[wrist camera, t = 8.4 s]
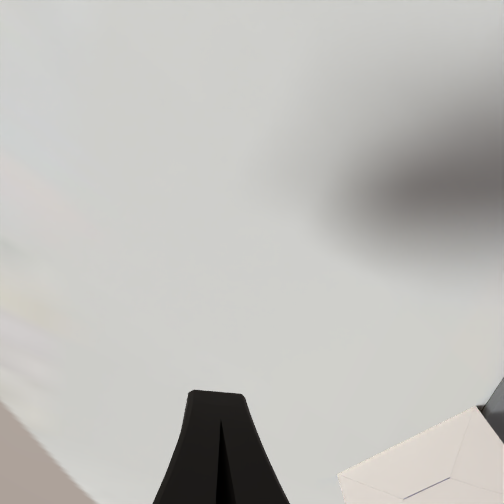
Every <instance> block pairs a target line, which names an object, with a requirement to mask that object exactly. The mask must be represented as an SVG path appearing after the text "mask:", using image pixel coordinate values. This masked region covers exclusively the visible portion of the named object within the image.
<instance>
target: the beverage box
mask: <svg viewBox="0 0 504 504" xmlns="http://www.w3.org/2000/svg"><path fill="white" fill-rule="evenodd" d="M337 477H338V480H339V484H340V487H341V491H342V494H343V497H344V501H345V504H504V444H503V442H502V441H501V440H500V438H499V437H498V435H497V434H496V433H495V431H494V430H493V429H492V427H491V426H490V425H489V423H488V422H487V420H486V419H485V418H484V416H483V415H482V414H481V412H480V411H479V410H478V408H477V407H476V406H474V407H472V408H470V409H468V410H466V411H464V412H462V413H460V414H458V415H456V416H454V417H452V418H450V419H448V420H446V421H444V422H442V423H440V424H438V425H436V426H434V427H432V428H429V429H427V430H425V431H423V432H421V433H419V434H417V435H415V436H413V437H411V438H409V439H407V440H405V441H403V442H401V443H399V444H397V445H395V446H393V447H391V448H389V449H387V450H385V451H383V452H381V453H379V454H377V455H375V456H373V457H371V458H369V459H367V460H365V461H363V462H361V463H359V464H357V465H355V466H353V467H351V468H349V469H347V470H345V471H343V472H341V473H339V474H337Z"/></svg>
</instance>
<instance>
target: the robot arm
mask: <svg viewBox="0 0 504 504" xmlns="http://www.w3.org/2000/svg"><path fill="white" fill-rule="evenodd" d="M153 504H290V503H289V501H288V499H287V497H286V495H285V493H284V491H283V489H282V487H281V485H280V483H279V481H278V479H277V477H276V474H275V472H274V470H273V468H272V466H271V464H270V461H269V459H268V457H267V455H266V452H265V450H264V448H263V445H262V443H261V441H260V438H259V436H258V433H257V431H256V428H255V425H254V423H253V420H252V417H251V415H250V412H249V409H248V406H247V403H246V399H245V397H244V396H243V395H242V394H236V393H225V392H213V391H202V390H193V391H191V392H189V393H188V398H187V403H186V408H185V413H184V419H183V424H182V429H181V433H180V436H179V439H178V442H177V445H176V448H175V450H174V453H173V456H172V458H171V461H170V464H169V467H168V469H167V472H166V474H165V477H164V479H163V481H162V483H161V486H160V488H159V490H158V493H157V495H156V497H155V499H154V502H153Z"/></svg>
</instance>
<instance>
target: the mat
mask: <svg viewBox="0 0 504 504" xmlns="http://www.w3.org/2000/svg"><path fill="white" fill-rule="evenodd" d="M481 414H482V415H483V416H484V418H485V419H486V420H487V422H488V423H489V425H490V426H491V427H492V429H493V430H494V431H495V433H496V434H497V435H498V437H499V438H500V440H501V441H502V442H503V444H504V378H503V380H502V381H501V383H500V384H499V386H498V387H497V389H496V390H495V392H494V393H493V395H492V397H491V398H490V400H489V401H488V403H487V404H486V406H485V407H484V409H483V410H482V412H481Z"/></svg>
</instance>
